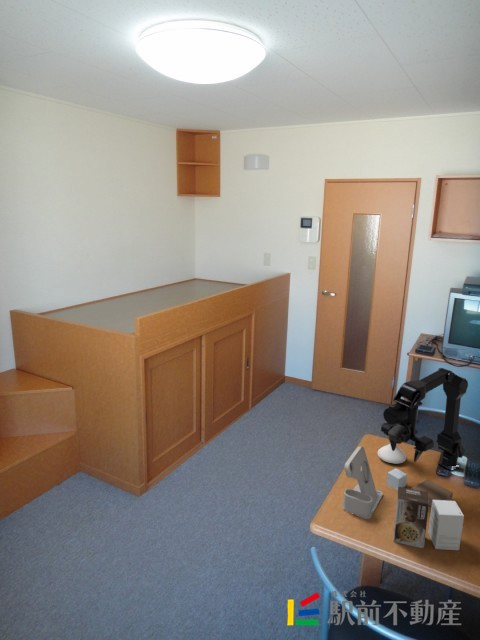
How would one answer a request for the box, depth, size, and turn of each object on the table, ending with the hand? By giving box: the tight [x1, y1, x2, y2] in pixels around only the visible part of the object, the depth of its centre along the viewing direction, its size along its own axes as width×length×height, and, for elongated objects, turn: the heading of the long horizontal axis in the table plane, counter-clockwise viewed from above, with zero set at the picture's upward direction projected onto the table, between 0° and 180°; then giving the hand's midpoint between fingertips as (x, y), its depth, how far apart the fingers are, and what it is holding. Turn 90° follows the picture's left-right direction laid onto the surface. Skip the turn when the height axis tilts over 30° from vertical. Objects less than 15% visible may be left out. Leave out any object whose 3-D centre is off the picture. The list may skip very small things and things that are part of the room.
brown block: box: [411, 478, 454, 508], centre depth 163 cm, size 10×10×3 cm
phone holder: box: [341, 446, 384, 520], centre depth 158 cm, size 17×10×18 cm, turn 147°
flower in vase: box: [377, 443, 407, 465], centre depth 184 cm, size 13×11×25 cm
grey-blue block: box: [386, 467, 408, 491], centre depth 170 cm, size 5×5×5 cm
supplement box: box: [427, 500, 465, 551], centre depth 140 cm, size 7×7×13 cm
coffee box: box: [393, 487, 430, 549], centre depth 141 cm, size 9×6×16 cm
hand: (404, 456), depth 166 cm, fingers open, 9 cm apart
